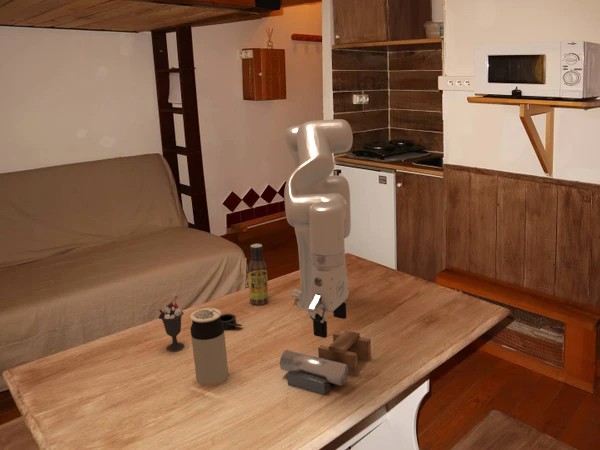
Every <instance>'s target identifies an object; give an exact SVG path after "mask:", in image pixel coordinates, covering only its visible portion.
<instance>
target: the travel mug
mask: <svg viewBox="0 0 600 450" xmlns="http://www.w3.org/2000/svg"><path fill="white" fill-rule="evenodd" d="M221 315H222V312H221V310H220V309H218V308H215V307H205V308H200V309H197V310H195V311H193V312H192V313H191V314H190V316H189V319H190V320H191V322H192V324H191V326H190V328H189V330H190V336H191V337H190V338H191V344H192V353H193V354H192V355H193V360H194V361H193V362H194V369H195V377H196V378H195V379H196V382H197V383H198V384H200V385H201V386H206V387H207V386H208V387H210V386H216V385H219V384H222V383H224V382H225V381H227V379H228V378H229V375H230V374H229V365H228V364H229V363H228V356H227V346H226V337H225V336H226V335H225V334H226V333H225V330H224V324H223V322H222V321H221V320H220V316H221Z"/></svg>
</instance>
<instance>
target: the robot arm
mask: <svg viewBox="0 0 600 450" xmlns="http://www.w3.org/2000/svg"><path fill="white" fill-rule="evenodd" d="M284 135H285V136H284V137H285V144H286V147H287V149H288V151H289V153H290V155H291V157H292V159H293V161H294V165H295V169H294V170H293V171H292V172H291V174H290V175H289V176H288V178H287V181H286V183H285V184H284V185H285V187H284V192H283V194H284V195H283V196H284V209H285V216H286V222H287V223H288V224H289V225H290V226H291V227H293V228H294V233H295V237H296V242H297V248H298V260H299V261H298V264H299V276H300V278H299V279H300V289H297V288H293V289H292V291H291V292H292V293H291V297H292V298H297V299H298V300H297V302H296V306H297V307H298V308H299V309H301V310H303V311H308V313H309V317H310V319H311V321H312V327H313V335H314V336H315V337H319V338H323V339H327V337H328V321H326V317H327V314H328V313H332V314H333V318H338V319H342V320H346V318H347V316H348V315H347V300H348V297H349V295H350V293H349V292H350V288H349V278H348V269H347V264H346V263H347V262H346V251H345V250H346V249H345V239H347V238H348V237H349V236H350V234H351V227H352V223H351V221H352V220H351V194H350V193H351V191H350V185H349V181H348V180H347V178H346V177H345V176H343V175H331V174H332V173H333V171H334V168H335V162H334V157H333V154H343V153H346V152H349V151H350V150H351V148H352V146H353V143H354V141H353V140H354V139H353V138H354V137H353V131H352V127H351V125H350V123H349V122H348V121H347V120H345V119H341V118H339V119H338V118H337V119H336V118H334V119H321V120H320V119H319V120H318V119H317V120H310V121H305V122H303V123H302V124H299V125H298V124H296V125H293V126H290V127H288V128H287V129H286V130H285V133H284ZM319 312H322V314H321V315H320V313H319Z"/></svg>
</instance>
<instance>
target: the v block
mask: <svg viewBox="0 0 600 450" xmlns="http://www.w3.org/2000/svg"><path fill="white" fill-rule="evenodd" d="M286 378H287V381H286V382H287V386H291V387H294V388H297V389H301V390H304V391H307V392H312V393H316V394H319V395H323V396H325V395H327V393H328V392H329V391H330V390H332V388H333V387H334V386H335V384H333V383H329V382H327V380H324V379H320V378H316V377H312V376H309V375H305V374H301V373H297V372H294V371H289V372H288V371H287V373H286Z"/></svg>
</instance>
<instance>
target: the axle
mask: <svg viewBox="0 0 600 450" xmlns="http://www.w3.org/2000/svg"><path fill="white" fill-rule="evenodd" d="M279 366H280V369H281V370H282V371H284V372H287V373H288V372H289V371H294V372H297V373H301V374H305V375H309V376H312V377H316V378H320V379H324V380H327V382H329V383H333V384H334V385H337V386H342V387H343V386H344V385H345V384H346V382H347V379H348V376H349V375H348V366H347V364H343V363H339V362H335V361H331V360H327V359H323V358H319V356H314V355H310V354H305V353H301V352H297V351H293V350H289V349H286V350H284V351H283V352H282V354H281V356H280V360H279Z"/></svg>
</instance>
